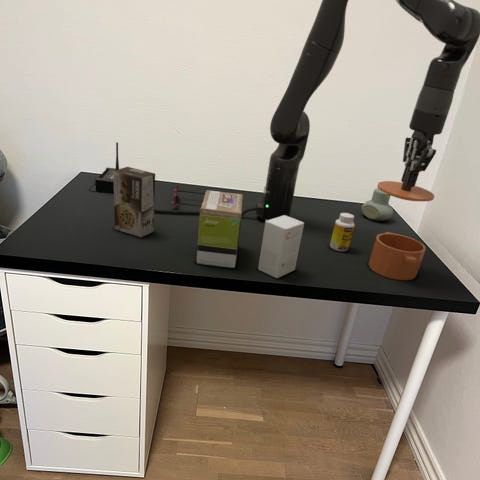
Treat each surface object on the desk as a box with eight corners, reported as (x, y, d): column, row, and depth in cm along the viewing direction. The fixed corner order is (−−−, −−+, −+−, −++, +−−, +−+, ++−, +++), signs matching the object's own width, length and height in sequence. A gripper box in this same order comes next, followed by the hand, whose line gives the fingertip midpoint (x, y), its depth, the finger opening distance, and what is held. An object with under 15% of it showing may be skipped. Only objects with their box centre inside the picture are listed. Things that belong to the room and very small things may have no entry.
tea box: (201, 241, 130) (206, 188, 122) (237, 246, 130) (244, 193, 123) (195, 264, 117) (200, 206, 109) (235, 269, 118) (243, 212, 110)
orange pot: (379, 282, 122) (388, 254, 118) (360, 253, 138) (367, 227, 133) (427, 287, 123) (437, 259, 119) (402, 257, 139) (411, 232, 135)
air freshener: (355, 214, 169) (363, 187, 164) (369, 212, 174) (376, 185, 169) (381, 225, 163) (389, 196, 157) (394, 222, 168) (402, 194, 162)
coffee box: (154, 231, 132) (156, 173, 123) (141, 238, 127) (142, 178, 118) (127, 223, 134) (127, 165, 126) (113, 229, 129) (112, 169, 121)
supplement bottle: (338, 253, 135) (347, 219, 130) (325, 245, 139) (333, 212, 134) (352, 251, 138) (361, 217, 133) (339, 243, 142) (347, 210, 137)
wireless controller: (102, 177, 168) (100, 126, 159) (141, 182, 169) (142, 132, 160) (86, 194, 151) (84, 138, 142) (130, 199, 152) (131, 144, 143)
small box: (275, 261, 125) (284, 214, 118) (295, 270, 122) (305, 222, 115) (256, 269, 119) (264, 220, 112) (276, 279, 116) (286, 228, 109)
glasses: (173, 197, 159) (174, 182, 157) (222, 202, 161) (223, 188, 159) (171, 211, 148) (171, 195, 145) (223, 216, 150) (225, 201, 147)
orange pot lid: (386, 200, 112) (395, 171, 108) (369, 183, 124) (376, 156, 120) (442, 206, 114) (452, 178, 110) (419, 189, 125) (428, 163, 122)
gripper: (405, 103, 114) (384, 175, 123) (428, 112, 102) (403, 191, 111) (434, 107, 115) (411, 178, 124) (460, 117, 103) (433, 194, 112)
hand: (407, 184), depth 117 cm, fingers closed on orange pot lid, 2 cm apart
